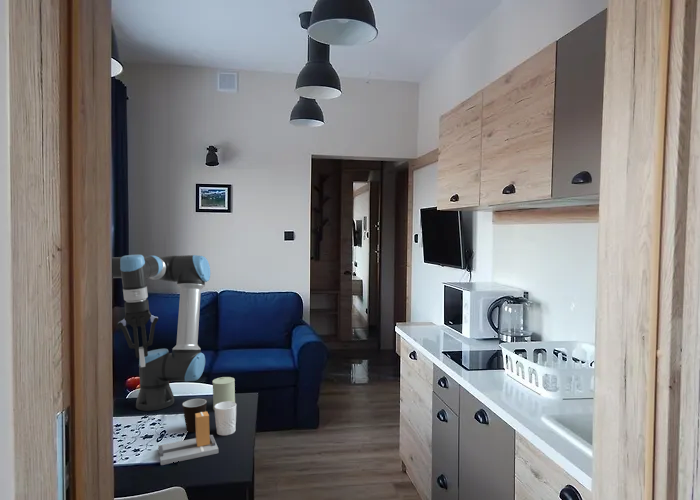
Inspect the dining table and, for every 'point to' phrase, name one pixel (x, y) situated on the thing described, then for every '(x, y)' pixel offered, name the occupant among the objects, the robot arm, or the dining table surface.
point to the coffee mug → (193, 412)
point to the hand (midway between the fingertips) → (143, 365)
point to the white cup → (225, 417)
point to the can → (223, 390)
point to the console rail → (185, 450)
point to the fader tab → (202, 428)
